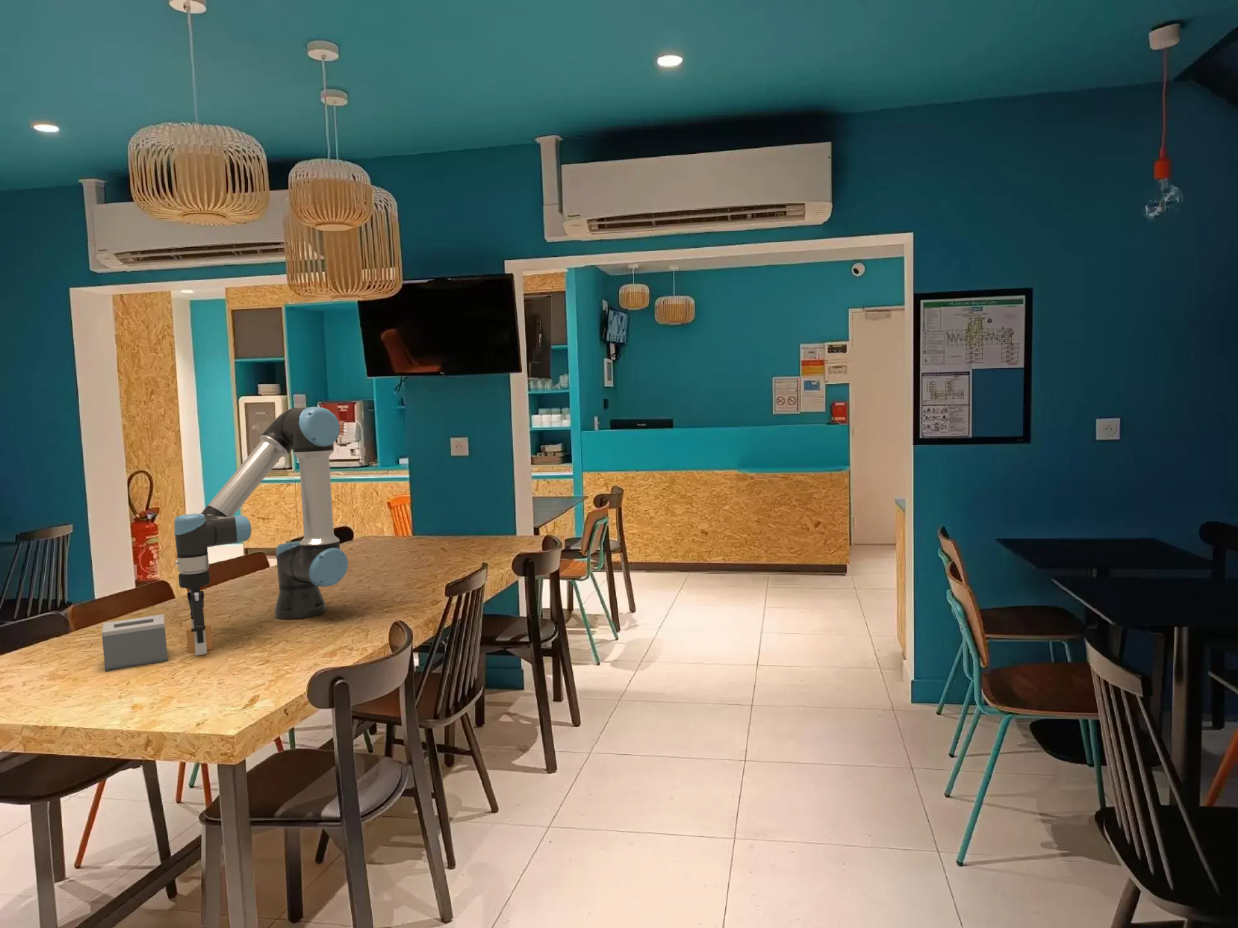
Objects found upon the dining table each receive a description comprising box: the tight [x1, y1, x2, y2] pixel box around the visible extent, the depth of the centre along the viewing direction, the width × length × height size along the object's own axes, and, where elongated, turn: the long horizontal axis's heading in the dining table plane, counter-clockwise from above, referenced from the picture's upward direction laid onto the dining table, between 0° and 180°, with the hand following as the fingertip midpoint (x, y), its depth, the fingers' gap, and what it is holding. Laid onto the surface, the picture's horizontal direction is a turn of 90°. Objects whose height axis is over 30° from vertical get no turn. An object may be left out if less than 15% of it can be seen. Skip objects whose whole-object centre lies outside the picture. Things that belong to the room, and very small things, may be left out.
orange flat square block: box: [185, 624, 214, 653], centre depth 231 cm, size 6×2×6 cm, turn 119°
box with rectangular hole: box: [101, 614, 169, 672], centre depth 223 cm, size 14×12×10 cm
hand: (199, 648), depth 231 cm, fingers open, 13 cm apart
